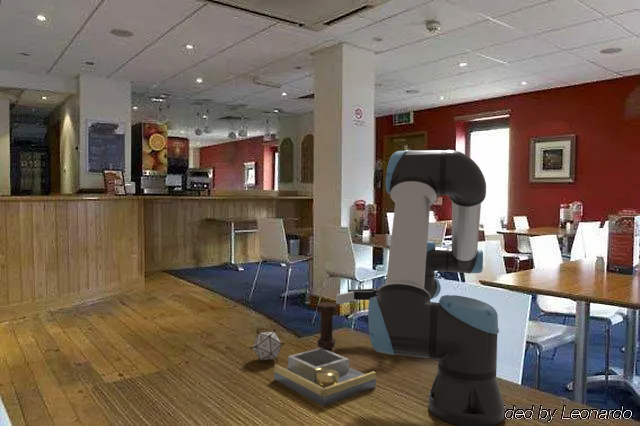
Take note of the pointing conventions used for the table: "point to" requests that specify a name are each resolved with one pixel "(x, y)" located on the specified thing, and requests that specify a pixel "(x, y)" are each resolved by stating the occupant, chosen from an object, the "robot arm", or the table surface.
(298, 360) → the carrier
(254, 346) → the game die
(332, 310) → the bolt
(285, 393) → the table surface
